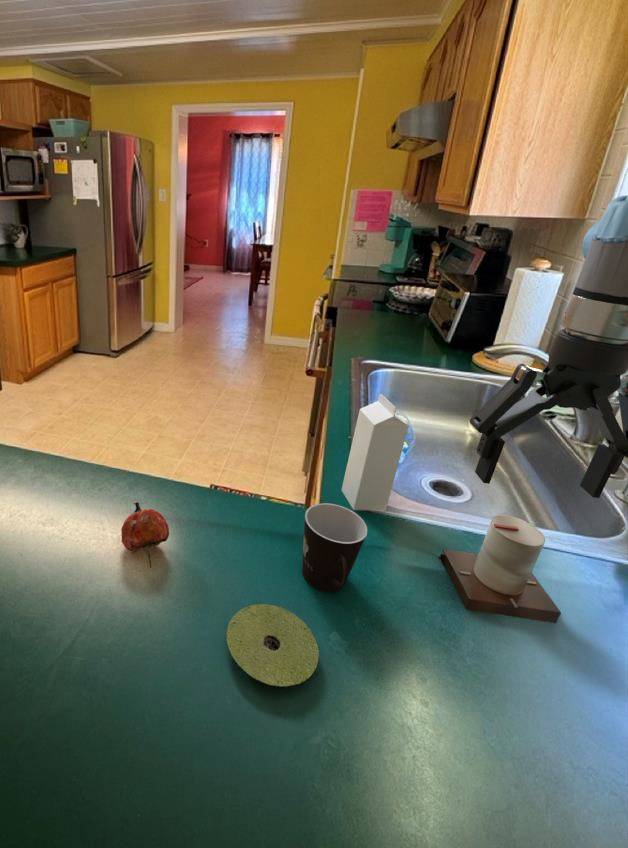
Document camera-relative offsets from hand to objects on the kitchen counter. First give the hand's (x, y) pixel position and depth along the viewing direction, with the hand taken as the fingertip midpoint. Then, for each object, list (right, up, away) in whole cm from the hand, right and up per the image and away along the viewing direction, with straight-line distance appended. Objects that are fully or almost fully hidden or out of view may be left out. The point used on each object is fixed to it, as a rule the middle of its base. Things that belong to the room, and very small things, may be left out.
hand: (534, 484), depth 64 cm
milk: (-14, -10, +24) cm, 29 cm away
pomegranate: (-54, -13, +10) cm, 56 cm away
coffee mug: (-27, -16, +6) cm, 32 cm away
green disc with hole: (-37, -20, -5) cm, 42 cm away
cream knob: (-1, -15, +6) cm, 17 cm away
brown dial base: (-1, -17, +7) cm, 19 cm away
